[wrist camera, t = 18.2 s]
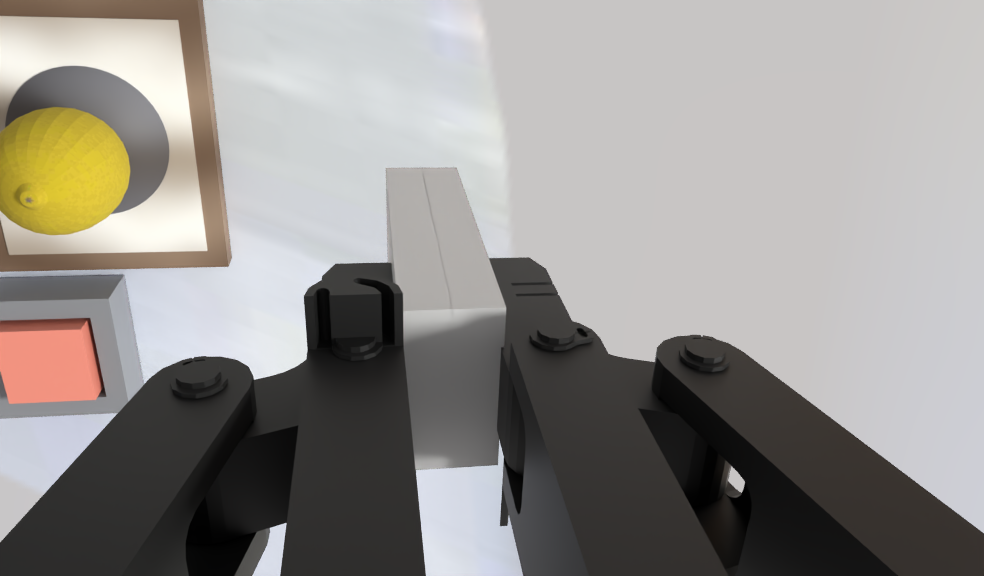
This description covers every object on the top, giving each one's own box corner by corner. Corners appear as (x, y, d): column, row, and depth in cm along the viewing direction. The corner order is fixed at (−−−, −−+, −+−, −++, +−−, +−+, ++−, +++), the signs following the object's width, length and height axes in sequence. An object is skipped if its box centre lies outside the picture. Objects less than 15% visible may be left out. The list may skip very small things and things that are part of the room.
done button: (9, 310, 42) (-11, 332, 40) (95, 307, 43) (80, 329, 41) (27, 379, 44) (9, 403, 42) (109, 375, 45) (96, 399, 43)
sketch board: (-66, -12, 36) (-82, -9, 35) (202, -5, 38) (196, -2, 37) (3, 262, 43) (-8, 273, 41) (231, 257, 44) (227, 267, 43)
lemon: (32, 191, 40) (-41, 253, 33) (25, 82, 38) (-54, 123, 30) (147, 205, 41) (102, 268, 34) (147, 100, 39) (99, 143, 32)
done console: (-16, 278, 43) (-41, 302, 40) (124, 274, 44) (108, 298, 41) (14, 389, 46) (-8, 418, 43) (143, 383, 47) (130, 412, 44)
